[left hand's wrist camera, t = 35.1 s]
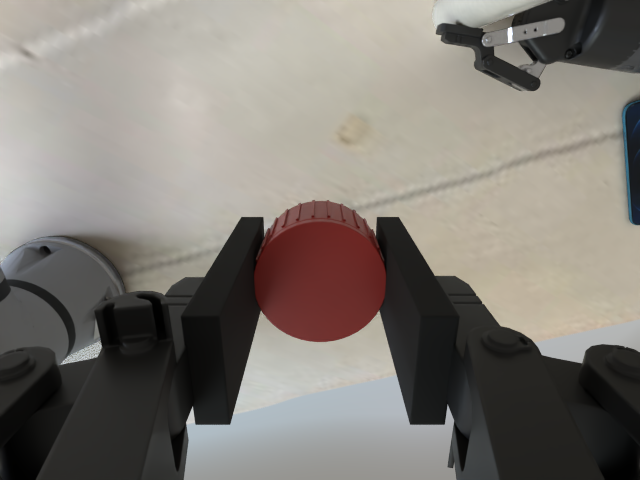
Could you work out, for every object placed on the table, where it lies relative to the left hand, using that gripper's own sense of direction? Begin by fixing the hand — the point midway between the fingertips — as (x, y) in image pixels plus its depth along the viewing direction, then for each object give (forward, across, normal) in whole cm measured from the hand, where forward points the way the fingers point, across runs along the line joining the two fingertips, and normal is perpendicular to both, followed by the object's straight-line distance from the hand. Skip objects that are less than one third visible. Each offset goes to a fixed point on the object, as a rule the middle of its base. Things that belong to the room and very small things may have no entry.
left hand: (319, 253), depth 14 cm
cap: (-2, 0, 0) cm, 2 cm away
